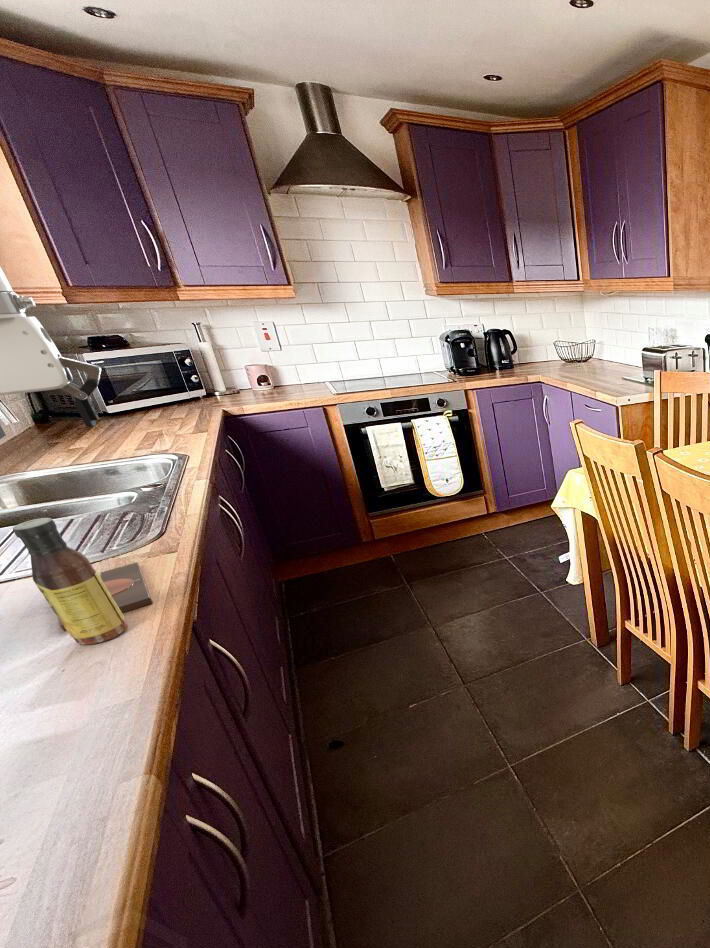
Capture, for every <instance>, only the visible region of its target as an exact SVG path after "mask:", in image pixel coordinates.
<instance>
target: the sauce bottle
mask: <svg viewBox="0 0 710 948" xmlns="http://www.w3.org/2000/svg"><path fill="white" fill-rule="evenodd" d="M57 526H58V525H57V524H56V522H55V521H54V519H53V518H51V517H41V518H40V517H39V518H35V519H30V520H27V521H24V522H21V523H18V524H16V525H14V526H13V527H12V531H13V534H14V535H15V536H16V537H17V538H19V539H20V540H21V542H22V544H23V545H24V546H25V548H26V549H27V551H28V554H29V555H30V565H31V573H32V574H31V575H32V580H33V583H34V584H35V585H36V587H37V589H38V590H39V591H40V592H41V594H42V596H43V597H44V599H45V601H46V602H47V603H48V605H49V606H50V607H51V609H52V611H53V612H54V614H55V615H56V617H57V618H58V619H59V622H60V621H61V622H62V624H63V625H64V627H65V628H66V630H67V631H66V632H67V633H68V634H69V636H70V637H71V638H72V639H74V642H76V644H78V645H81V646H88V645H89V646H90V645H96V644H100V643H104V642H107V641H111V640H113V639H115V638H116V637H118V636H119V635H121V634H123V633H124V632H125V631H126V630H127V629H128V623H127V622H126V620H125V616H124V613H122V612H121V611H120V609H119V607H118V606H117V604H116V602H115V601H114V599H113V598H112V596H111V594H110V593H109V591H108V589H107V588H106V586H105V585H104V583H103V581H102V580H101V578H100V576H99V575H98V573H99V572H97V570H96V569H94V567H93V565H92V564H91V562H90V560H89V559H88V557H87V556H86V555H85V554H83V553H81V552H80V551H78V550H77V549H74V548H72V547H70V546H68V545H67V541H65V540H64V538H63V537H62V535H61V534H60V532H59V530H58V527H57Z"/></svg>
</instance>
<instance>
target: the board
mask: <svg viewBox="0 0 710 948" xmlns="http://www.w3.org/2000/svg"><path fill="white" fill-rule="evenodd" d="M97 573H98V575H99V576H100V578H101V580H102V581H103V583H104V585H105V586H106V588H107V589H108V591H109V593H110V594H111V596H112V598H113V599H114V601H115V602H116V604H117V606H118V607H119V609H120V611H121V612H122V614H124V613H126V612H130V611H134V610H136V609H139V608H143V607H145V606H149V605H153V600H152V597H151V594H150V591H149V588H148V586H147V582H146V579H145V577H144V573H143V571H142V568H141V566H140V564H139V562H132V563H130V564H126V565H121V566H119V567H115V568H111V569H108V570H104V571H101V572H97ZM59 626H60V628H61V630H62V631H63V632H68V631H67V630H66V628H65V627H64V625H63V624H62V622H61V621H60V620H59Z"/></svg>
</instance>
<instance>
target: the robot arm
mask: <svg viewBox="0 0 710 948" xmlns="http://www.w3.org/2000/svg"><path fill="white" fill-rule="evenodd" d="M36 307H37V305H36V302H35V301H34V299H33V297H32V296H23V295H19V294H17V292H14V290H13V288H12V286H11V284H10V282H9V279H8V278H7V276H6V275H5V272H4V270H3V268H2V267H1V265H0V396H7V395H18V394H26V393H36V392H43V391H51V390H52V391H53V390H58V389H59V390H60V391H63V392H64V393H67V395H70V396H72V397H74V399H75V401H74V402H73V403H74V405H75V407H76V409H77V411H78V413H79V415H80V417H81V419H82V421H83V423H84V425H85V427H86V428H94V427H95V426H96V425H97V421H99V420H100V417H99V415H98V413H97V411H96V409H95V407H94V404H93V403H92V400H91V399H90V397H91V395H92V394H93V393H94V392H95V390H96V389H97V388H98V386H99V384H100V379H101V373H102V368H101V367H100V366H99V365H96V364H92V363H88V362H84V361H81V360H77V359H72V358H68V357H65V356H62V354H61V353H60V351H59V350H58V347H57V346H56V344H55V343H54V341H53V340H52V338H51V336H50V335H49V333H48V332H47V331H46V329H45V328H44V326H43V325H42V323H41V322H40V321H39V320H38V319H37V317H36V316H34V315H33V316H27V315H26V310H27V309H29V308H36ZM70 369H73V370H76V371H81V372H83V373H85V374H86V380H85V381H84V382H83V384H82V386H80V385H78V384H76V383H74V382H73V381H74V378H73V374H72V373H71V370H70ZM6 435H7V434H6V432H5V431H4V429H3V427H2V426H1V424H0V440H1V439H3V438H4V437H6Z"/></svg>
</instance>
